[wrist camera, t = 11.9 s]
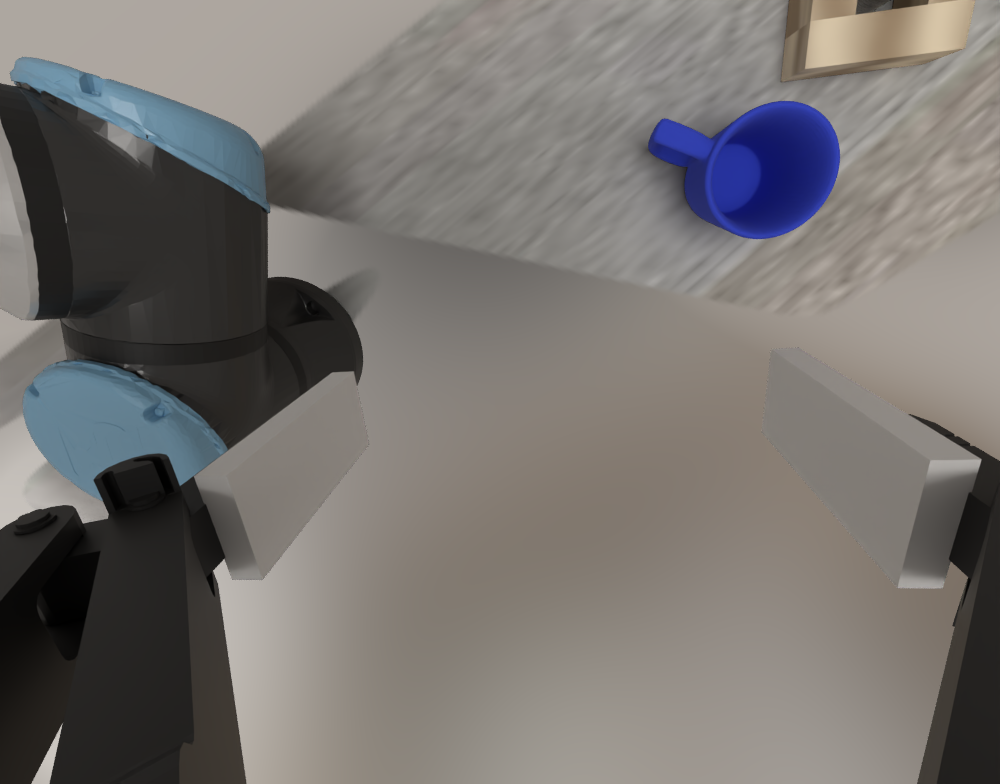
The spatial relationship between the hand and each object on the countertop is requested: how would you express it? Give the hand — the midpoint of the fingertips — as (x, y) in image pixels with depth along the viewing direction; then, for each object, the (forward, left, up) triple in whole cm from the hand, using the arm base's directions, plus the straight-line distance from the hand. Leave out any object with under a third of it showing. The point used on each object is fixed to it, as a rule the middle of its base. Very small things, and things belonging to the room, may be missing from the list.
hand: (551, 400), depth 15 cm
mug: (+13, +7, -32) cm, 35 cm away
